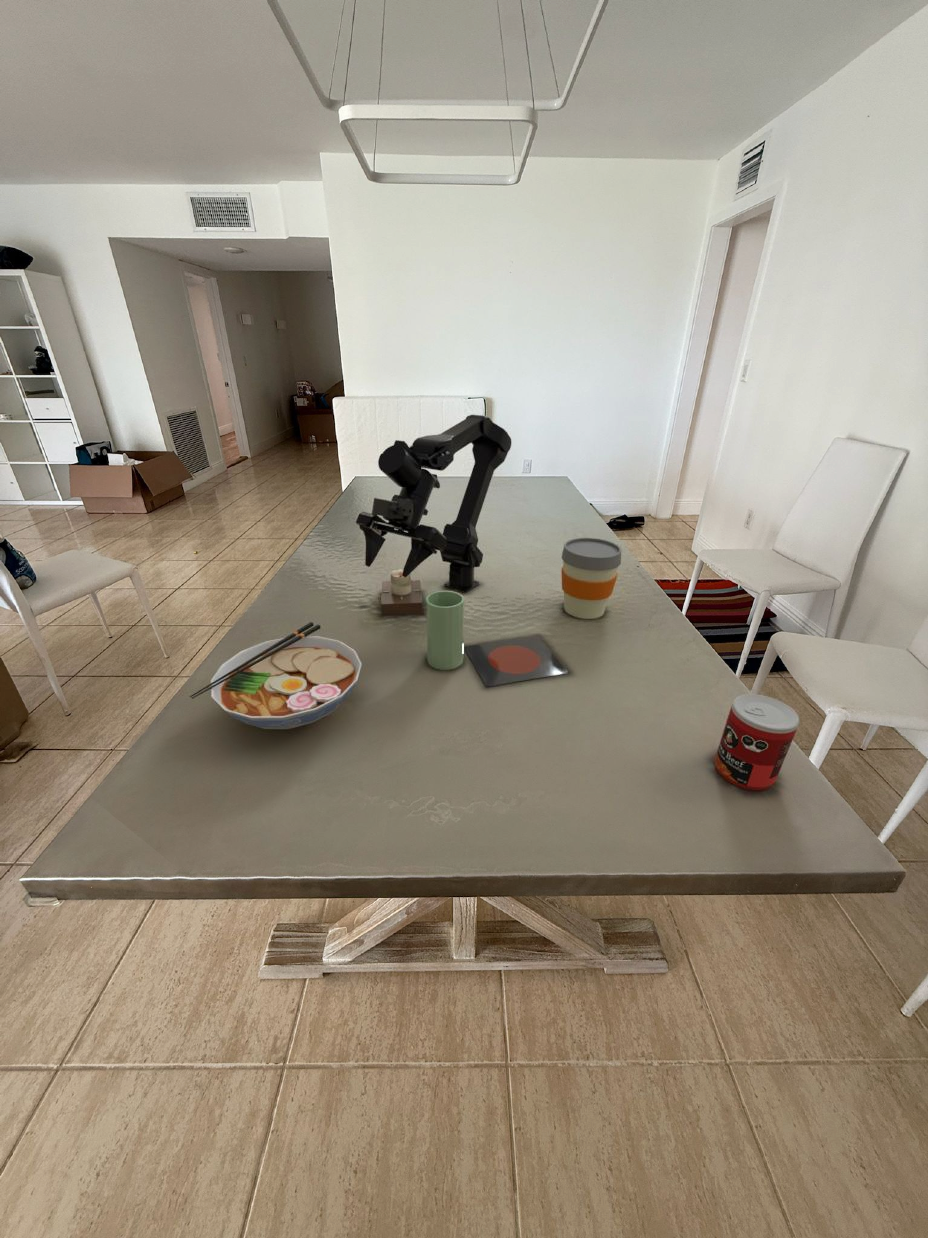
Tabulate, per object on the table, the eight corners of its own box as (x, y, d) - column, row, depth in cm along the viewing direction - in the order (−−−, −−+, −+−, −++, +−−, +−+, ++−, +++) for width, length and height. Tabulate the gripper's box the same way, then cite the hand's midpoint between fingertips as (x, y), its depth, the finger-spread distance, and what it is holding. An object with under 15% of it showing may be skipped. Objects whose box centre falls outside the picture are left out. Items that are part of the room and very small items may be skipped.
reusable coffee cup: (614, 602, 122) (624, 541, 114) (609, 626, 111) (620, 561, 104) (561, 594, 125) (567, 534, 118) (551, 617, 115) (558, 553, 108)
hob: (463, 647, 103) (463, 646, 103) (537, 636, 107) (537, 635, 107) (486, 687, 91) (486, 686, 91) (568, 673, 96) (568, 672, 96)
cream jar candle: (391, 587, 120) (390, 568, 118) (410, 586, 121) (410, 567, 118) (391, 595, 116) (390, 576, 114) (411, 595, 117) (410, 575, 114)
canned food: (703, 754, 77) (721, 694, 72) (754, 751, 78) (776, 692, 73) (731, 794, 71) (753, 731, 65) (786, 790, 71) (813, 728, 66)
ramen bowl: (282, 785, 71) (272, 739, 67) (182, 726, 81) (168, 683, 78) (397, 693, 90) (394, 653, 86) (303, 654, 100) (297, 617, 96)
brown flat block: (382, 592, 125) (381, 580, 123) (420, 591, 126) (419, 579, 124) (381, 616, 114) (380, 603, 113) (422, 614, 115) (422, 601, 114)
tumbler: (441, 647, 103) (440, 587, 97) (469, 657, 100) (471, 596, 94) (420, 662, 98) (418, 601, 92) (449, 674, 95) (449, 611, 89)
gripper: (354, 471, 100) (323, 546, 98) (433, 486, 91) (401, 568, 90) (385, 497, 110) (358, 566, 108) (459, 512, 101) (431, 587, 100)
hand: (385, 571), depth 101 cm, fingers open, 9 cm apart
